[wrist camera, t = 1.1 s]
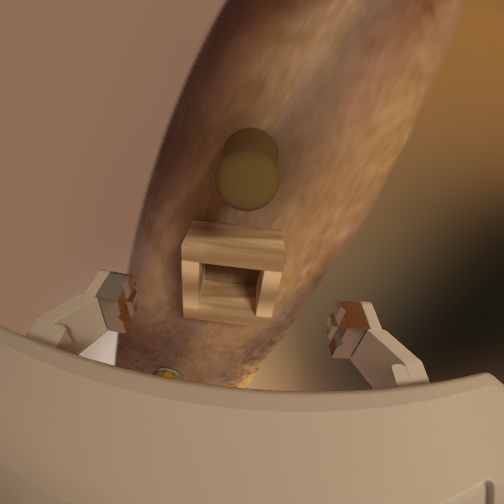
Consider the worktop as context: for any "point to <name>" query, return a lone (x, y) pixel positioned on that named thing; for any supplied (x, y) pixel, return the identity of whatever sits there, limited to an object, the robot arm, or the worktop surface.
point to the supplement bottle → (168, 373)
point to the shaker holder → (234, 255)
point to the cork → (248, 170)
